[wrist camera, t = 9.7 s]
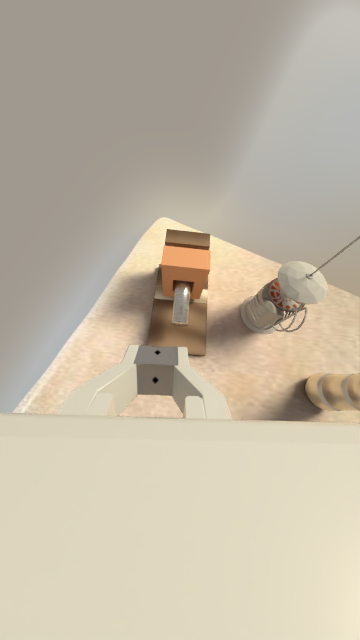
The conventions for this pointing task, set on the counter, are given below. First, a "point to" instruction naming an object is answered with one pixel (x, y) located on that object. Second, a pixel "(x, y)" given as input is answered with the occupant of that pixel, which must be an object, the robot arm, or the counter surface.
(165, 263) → the collar
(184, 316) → the steel pipe
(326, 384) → the plastic bottle
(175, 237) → the pipe stand
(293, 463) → the robot arm
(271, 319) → the french press
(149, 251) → the counter surface
